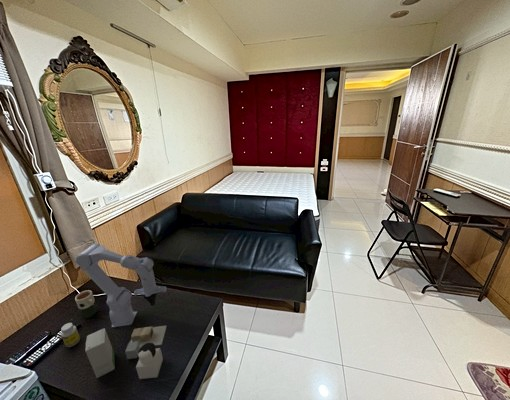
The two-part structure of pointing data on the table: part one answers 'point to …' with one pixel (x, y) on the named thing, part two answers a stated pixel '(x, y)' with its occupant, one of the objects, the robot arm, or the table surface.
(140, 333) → the birch block
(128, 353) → the slate block
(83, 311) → the character mug
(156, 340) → the felt mat
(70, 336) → the supplement bottle
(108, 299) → the robot arm
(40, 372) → the table surface
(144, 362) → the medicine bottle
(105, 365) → the skincare box
